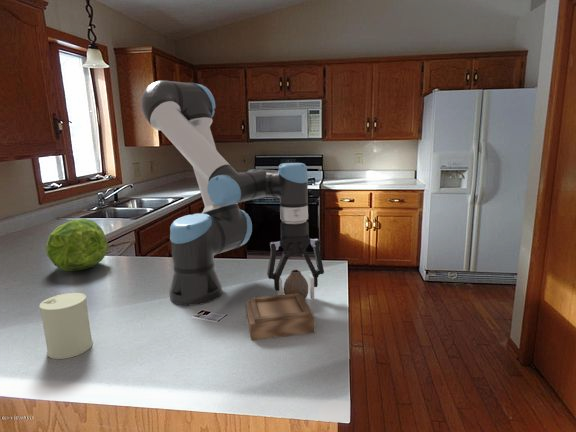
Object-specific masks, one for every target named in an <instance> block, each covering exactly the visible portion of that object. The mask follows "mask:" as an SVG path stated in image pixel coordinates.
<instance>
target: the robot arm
mask: <svg viewBox="0 0 576 432" xmlns="http://www.w3.org/2000/svg"><path fill="white" fill-rule="evenodd" d="M140 107H141V111H142V114H143V116H144V118H145V119H146V121H147V122H148V124H149V125H150V126H152V128H153V129H155V130H157V131H161V132H162V133H163V134H164V136H165V137H166V138H167V139H168V140H169V141H170V142H171V143H172V145H173V146H174V147H175V148H176V150H178V151H179V153H180V154H181V155H182V156H183V157H184V158H185V159H186V161H187V162H188V163H190V165H191V166H192V168H193V172H194V176H195V178H196V182H197V184H198V185H197V186H198V188H199V192H200V194H201V198H202V203H203V204H204V205H203V206H204V208H203V211H202V212H201V213H193V214H187V215H183V216H181V217H178V218H177V219H175V220H173V222H172V223H171V225H170V227H169V229H170V230H169V231H170V235H169V239H170V243H171V244H170V245H171V254H172V265H173V266H172V268H173V275H172V279H171V282H170V287H169V290H168V291H169V299H170V301H171V302H172V303H174V304H177V305H183V306H194V305H195V306H196V305H202V304H207V303H210V302H213V301H215V300H217V299H218V298H220V297H221V295H222V294H223V285H222V282H221V280H220V278H219V275H218V274H217V270H216V268H215V258H214V257H215V256H216V255H218V254H221V253H225V252H228V251H231V250H235V249H238V248H240V247H242V246H244V245H245V244H247V243H248V242H249V240H250V238H251V235H252V232H253V224H252V219H251V217H250V216H249V214H248V213H247V212H246V211H245V210H243V209H240V206H239V203H243V202H247V201H252V200H256V199H261V198H276V199H277V198H278V199H279V212H280V213H279V215H280V219H279V220H281V222H280V238H279V241H270V242H269V246H270V247H269V248H270V253H269V254H270V255H269V260H268V266H267V277H268V279H269V280H273V284H274V285H273V286H274V287H273V288H274V290H275V292H277V295H283V279H282V277H281V276H282V273H283V270H284V268H285V267H286V264H287V261H288V260H289V258H290V256H295V255H302V256H303V258H304V261H305V262H306V264H307V267H308V268H309V271H310V274H309V275H308V276H309V277H308V281H309V283H308V295H309V298H310V299H311V301H312V300H313V301H314V300H315V288H318V280H319V279H318V278H319V276H320V275H324V274H325V270H324V265H323V261H322V256H321V251H320V247H321V241H320V240H319V239H318V237H317V238H310V236H309V221H308V220H309V204H308V203H309V202H308V197H309V195H308V189H309V188H308V187H309V185H308V183H309V178H308V166H307V165H306V164H305V163H302V162H284V163H280V164H279V165H278V169H277V170H275V169H263V168H256V169H255V168H253V169H249V170H247V171H245V172H237V170H236V169H235V168H234V167H233V166H231V164H229V162H228V161H227V160H226V159H225V158H224V157H223V156H222V155H221V154H220V153H219V152H218V150H217V147H216V143H215V140H214V137H213V133H212V131H211V125H212V124H213V121H214V120H213V117H214V115H215V112H216V111H215V109H216V100H215V97H214V95H213V94H212V92H211V91H210V89H209V88H208V87H207V86H204V85H203V84H199V83H195V82H182V81H181V82H180V81H171V80H161V79H160V80H157V81H154V82H152V83H151V84H149V85H148V86H146V88H145V89H144V91H143V92H142V94H141V99H140ZM310 245H311V247H312V249H313V253H314V258H315V263H316V268H315V266H314V264H313V261H312V260H311V258H310V256H309V254H308V252H307V249H308V248H309V246H310ZM279 247H281V248H282V249H283V251H282V253H281V254H282V255H281V257H280V260H279V262H278V264H277V266H276V260H277V251H279ZM275 266H276V268H275Z"/></svg>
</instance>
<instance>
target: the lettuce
mask: <svg viewBox="0 0 576 432" xmlns="http://www.w3.org/2000/svg"><path fill="white" fill-rule="evenodd" d="M107 239H108V238H107V236H106V233H105V232H104V230H103V228H102V227H101V226H100V225H99V224H97V223H96V221H94V220H90V219H87V218H86V219H85V218H79V219H74V220H70V221H67V222H65V223H63V224H61V225H59V226H57V227H56V228H55V229H54V230H53V231H52V232H51V233H50V234H49V235H48V238H47V241H46V243H45V251H46V256H47V257H48V259H49V260H50V262H52V264H53V265H54V266H55V267H57V268H59V269H61V270H63V271H65V272H78V271H82V270H85V269H86V270H87V269H89V268H92V267H94V266H96V265H97V264H99V263H100V262H102V261H103V259H104V258H105V257H106V256H107V253H108V249H109V247H108V246H109V244H108V240H107Z"/></svg>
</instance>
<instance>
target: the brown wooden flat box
mask: <svg viewBox="0 0 576 432" xmlns="http://www.w3.org/2000/svg"><path fill="white" fill-rule="evenodd" d="M245 308H246V319H247V324H248V331H249V334H250V336H249V337H250V340H251V341H253V340H262V339H263V340H264V339H270V338H271V339H272V338H278V337H279V338H280V337H288V336H297V335H304V334H305V335H307V334H313V333H315V316H314V313H313V312H312V310H311V308H310V306H309V305H308V303H307V301H306V299H304V297H303V295H299V293H296V294H286V295H285V294H282V295H278V294H277V295H268V296H267V295H266V296H258V297H257V296H256V297H250V298H249V300H245Z"/></svg>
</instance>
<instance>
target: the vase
mask: <svg viewBox="0 0 576 432" xmlns="http://www.w3.org/2000/svg"><path fill="white" fill-rule="evenodd" d="M283 284H284V285H283V293H284V294H283V295H286V294H296V293H299V295H303V297H304V299H305V300H306V299H307V297H308V295H309V283H308V281H307V279H306V278H305V276H304V275H303V274H302V272H301V271H300V269H293V270H291V272H290V274H289V275H288V276H287V278H286V279H285V280H284V283H283Z"/></svg>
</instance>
